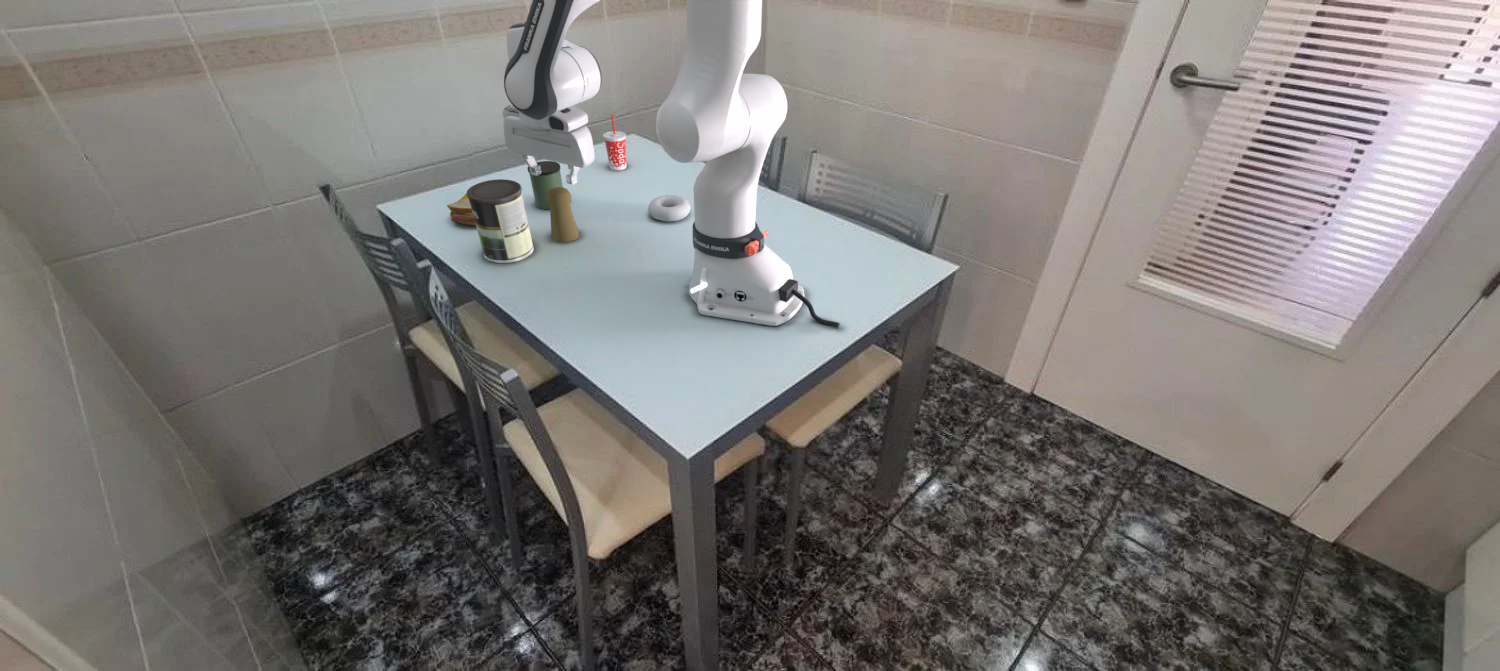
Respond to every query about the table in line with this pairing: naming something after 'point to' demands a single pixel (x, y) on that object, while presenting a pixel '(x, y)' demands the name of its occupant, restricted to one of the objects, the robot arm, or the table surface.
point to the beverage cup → (616, 148)
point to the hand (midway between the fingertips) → (554, 178)
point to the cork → (561, 215)
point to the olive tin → (545, 182)
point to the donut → (669, 208)
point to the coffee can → (501, 220)
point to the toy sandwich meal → (462, 211)
